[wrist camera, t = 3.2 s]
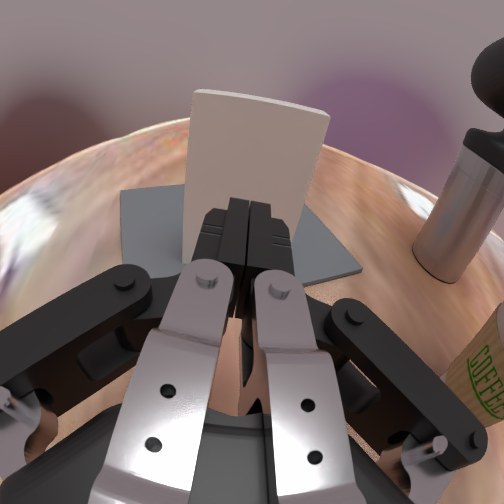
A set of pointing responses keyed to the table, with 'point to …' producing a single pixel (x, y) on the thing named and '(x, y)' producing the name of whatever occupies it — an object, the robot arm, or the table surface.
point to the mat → (171, 238)
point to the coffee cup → (481, 372)
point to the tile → (248, 157)
